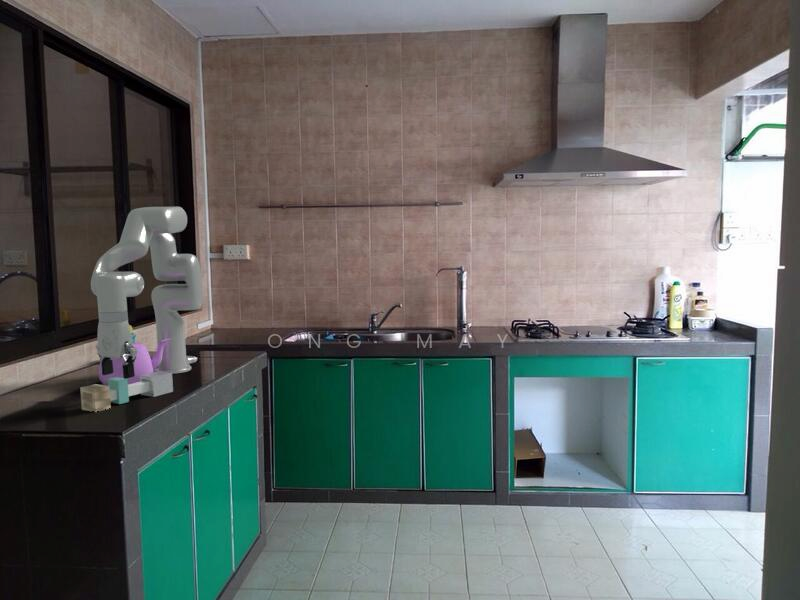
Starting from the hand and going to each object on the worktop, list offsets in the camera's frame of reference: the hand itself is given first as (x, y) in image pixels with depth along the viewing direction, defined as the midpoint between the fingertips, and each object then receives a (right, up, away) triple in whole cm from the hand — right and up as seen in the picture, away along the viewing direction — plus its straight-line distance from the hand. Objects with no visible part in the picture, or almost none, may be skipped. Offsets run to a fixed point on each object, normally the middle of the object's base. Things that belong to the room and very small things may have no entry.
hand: (118, 375), depth 175 cm
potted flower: (-29, -3, +69) cm, 74 cm away
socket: (-3, -8, -6) cm, 11 cm away
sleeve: (+7, -7, +11) cm, 15 cm away
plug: (+1, -7, +1) cm, 8 cm away
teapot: (-9, -6, +26) cm, 28 cm away
